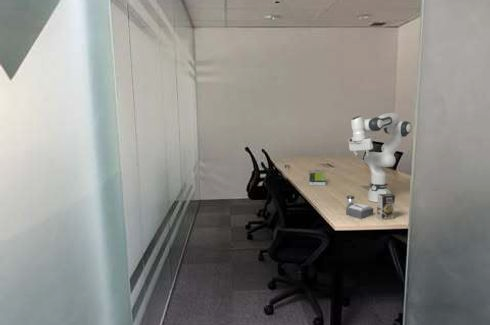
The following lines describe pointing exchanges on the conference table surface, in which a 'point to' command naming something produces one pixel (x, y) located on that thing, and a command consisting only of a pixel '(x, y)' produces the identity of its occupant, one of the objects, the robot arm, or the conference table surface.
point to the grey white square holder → (359, 211)
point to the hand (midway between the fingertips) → (362, 156)
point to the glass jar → (350, 201)
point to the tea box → (317, 177)
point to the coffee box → (385, 206)
